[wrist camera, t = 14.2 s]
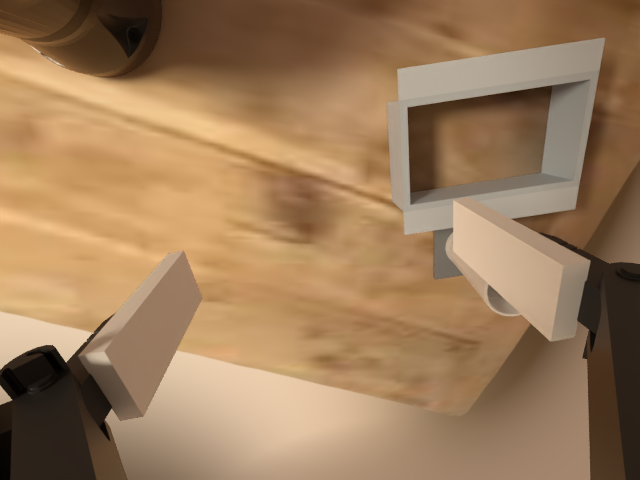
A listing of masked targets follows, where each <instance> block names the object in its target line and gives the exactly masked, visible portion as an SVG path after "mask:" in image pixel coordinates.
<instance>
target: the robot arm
mask: <svg viewBox="0 0 640 480" xmlns="http://www.w3.org/2000/svg"><path fill="white" fill-rule="evenodd" d="M160 25H161V1H160V0H0V33H2V34H6V35H10V36H14V37H17V38H20V39H21V40H23V41H24V42H26V43H27V44H29V45H30V46H31V47H32V48H34V49H35V50H36V51H37V52H39V53H40V54H41V55H43V56H44V57H46V58H47V59H49V60H50V61H52V62H54V63H56V64H58V65H59V66H62V67H64V68H66V69H69V70H72V71H75V72H78V73H83V74H88V75H93V76H99V77H112V76H118V75H122V74H125V73H128V72H130V71H132V70H134V69H135V68H137V67H138V66H139V65H141V64H142V63H143V62H144V61H145V60H146V59H147V57H148V56H149V55H150V53H151V52H152V50H153V48H154V46H155V44H156V41H157V38H158V35H159V31H160ZM453 251H454V252H455V253H456V254H457V255H458V256H459V257H460V258H461V259H462V260H463V261H464V262H465V263H467V264H468V265H469V266H470V267H471V268H472V269H473V270H474V271H475V272H476V273H477V274H478V275H479V276H481V277H482V278H483V279H484V280H485V281H486V282H487V283H488V284H489V285H490V286H491V287H492V288H493V289H495V290H496V291H497V292H498V293H499V294H500V295H501V296H502V297H503V298H504V299H505V300H506V301H507V302H509V303H510V304H511V305H512V306H513V307H514V308H515V309H516V310H517V311H518V312H519V313H520V314H521V315H523V316H524V317H525V318H526V319H527V320H528V321H529V322H530V323H531V324H532V325H533V326H534V327H535V328H537V329H538V330H539V331H540V332H541V333H542V334H543V335H544V336H545V337H546V338H547V339H548V340H550V341H557V340H562V339H568V338H573V337H575V333H576V328H577V324H578V321H579V322H580V323H581V324H583V325H584V326H585V327H587V328H588V329H589V332H588V336H587V340H586V345H585V349H584V353H583V358H585V359H587V363H588V400H589V438H590V476H591V480H640V264H635V263H623V262H620V263H611V264H609V263H607V262H605V261H603V260H601V259H599V258H596V257H595V256H593V255H591V254H589V253H587V252H585V251H583V250H581V249H577V247H575V246H573V245H571V244H568V243H567V242H565V241H563V240H561V239H559V238H557V237H555V236H551V235H547V234H544V233H537V232H535V231H533V230H531V229H529V228H527V227H525V226H523V225H521V224H520V223H518V222H516V221H514V220H512V219H510V218H508V217H506V216H504V215H502V214H501V213H499V212H497V211H495V210H493V209H491V208H489V207H487V206H485V205H483V204H482V203H480V202H478V201H476V200H474V199H472V198H470V197H466V198H461V199H456V200H453ZM201 300H202V295H201V293H200V290H199V288H198V285H197V283H196V280H195V278H194V275H193V273H192V270H191V268H190V265H189V263H188V260H187V258H186V255H185V253H184V251H179V252H174V253H168V254H167V255H166V257H165V258H164V259H163V260H162V261H161V262H160V263H159V265H158V266H157V267H156V268H155V269H154V270H153V271H152V272H151V274H150V275H149V276H148V277H147V278H146V279H145V280H144V282H143V283H142V284H141V285H140V286H139V287H138V288H137V289H136V291H135V292H134V293H133V294H132V295H131V296H130V297H129V299H128V300H127V301H126V302H125V303H124V304H123V305H122V307H121V308H120V309H119V310H118V311H117V312H116V313H115V314H113V315H112V316H111V317H109V318H108V319H107V320H105V321H104V322H103V323H102V324H101V325H100V326H99V327H98V328H97V329H96V330H95V331H94V334H92V335H91V336H90V337H89V338H88V339H87V342H85V343H84V344H83V345H82V346H81V347H80V348H79V349H78V350H77V351H76V353H75V354H74V355H73V356H72V357H71V358H70V359H69V360H68V361H67V362H65V361H64V359H63V358H62V357H61V356H60V354H59V352H58V351H57V349H56V348H55V347H54V346H53V345H45V346H41V347H37V348H35V349H32V350H30V351H27V352H25V353H23V354H22V355H20V356H18V357H16V358H15V359H13V360H12V361H10V362H9V363H8V364H6V365H5V366H4V367H3V368H2V369H1V370H0V385H1V387H2V388H3V389H4V390H5V391H6V393H7V394H8V395H9V396H10V397H11V399H12V401H10V402H7V403H5V404H2V405H0V480H127V477H126V474H125V471H124V468H123V465H122V462H121V459H120V457H119V453H118V450H117V447H116V444H115V441H114V438H113V435H112V433H111V429H110V427H109V425H108V424H107V422H106V421H105V418H106V416H107V415H108V413H109V412H110V410H111V408H112V409H113V411H114V412H115V414H116V415H117V417H118V418H119V420H120V421H122V420H127V419H132V418H138V417H143V416H144V415H145V413H146V410H147V408H148V406H149V404H150V402H151V400H152V398H153V396H154V394H155V392H156V390H157V388H158V386H159V384H160V382H161V380H162V378H163V376H164V374H165V372H166V370H167V368H168V366H169V364H170V362H171V360H172V358H173V356H174V354H175V352H176V350H177V348H178V346H179V344H180V342H181V340H182V338H183V336H184V334H185V332H186V330H187V328H188V326H189V324H190V322H191V320H192V318H193V316H194V314H195V312H196V310H197V308H198V306H199V304H200V302H201Z"/></svg>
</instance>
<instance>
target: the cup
mask: <svg viewBox="0 0 640 480" xmlns="http://www.w3.org/2000/svg"><path fill="white" fill-rule="evenodd" d="M446 254H447V256H448V258H449V259H450V260H451V261H452V262H453V263H454V264H455V265H456V266H457V268H458V269H459V270H460V271H461V273H462V274H463V275H464V276H465V277H466V279H467V280H468V281H469V282H470V284H471V285H472V286H473V287H474V288H475V290H476V291H477V292H478V293H479V295H480V296H481V297H482V299H483V300H484V301H485V302H486V304H487V305H488V306H489V307H490V309H491V310H493V311H494V312H496V313H498V314H500V315H504V316H519V315H521V314H520V313H519V312H518V311H517V310H516V309H515V308H514V307H513V306H512V305H511V304H510V303H509V302H507V301H506V300H505V299H504V298H503V297H502V296H501V295H500V294H499V293H498V292H497V291H496V290H495V289H493V288H492V287H491V286H490V285H489V284H488V283H487V282H486V281H485V280H484V279H483V278H482V277H481V276H479V275H478V274H477V273H476V272H475V271H474V270H473V269H472V268H471V267H470V266H469V265H468V264H467V263H465V262H464V261H463V260H462V259H461V258H460V257H459V256H458V255H457V254H456V253H455V252H454V251H453V233H452V234H451V235H450V236H449V238H448V240H447V242H446Z"/></svg>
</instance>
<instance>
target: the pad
mask: <svg viewBox="0 0 640 480" xmlns="http://www.w3.org/2000/svg"><path fill="white" fill-rule="evenodd" d="M452 233H453V228H447V229H441V230H434V231H433V250H434V279H441V278H448V277H455V276H461V275H463V274H462V273H461V271H460V270H459V269H458V268H457V266H456V265H455V264H454V263H453V262H452V261H451V260H450V259H449V258H448V256H447V254H446V242H447V240H448V238H449V236H450V235H451V234H452Z"/></svg>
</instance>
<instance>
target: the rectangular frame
mask: <svg viewBox="0 0 640 480" xmlns="http://www.w3.org/2000/svg"><path fill="white" fill-rule="evenodd" d="M604 42H605V37H604V38H597V39H591V40H584V41H578V42H571V43H565V44H558V45H552V46H545V47H539V48H532V49H526V50H519V51H512V52H506V53H499V54H493V55H486V56H480V57H473V58H467V59H460V60H454V61H447V62H441V63H434V64H427V65H421V66H414V67H408V68H401V69H397V74H398V98H399V101H394V102H388V103H387V118H388V136H389V154H390V173H391V191H392V201H393V202H394V203H395V204H396V205H397V206H398V207H399V208H400V209H401V210H402V211H403V220H404V234H405V235H407V234H414V233H421V232H427V231H434V230H441V229H447V228H453V200H456V199H461V198H466V197H470V198H472V199H474V200H476V201H478V202H480V203H482V204H483V205H485V206H487V207H489V208H491V209H493V210H495V211H497V212H499V213H501V214H502V215H504V216H506V217H508V218H510V219H513V218H520V217H527V216H533V215H540V214H547V213H553V212H560V211H567V210H573V209H575V206H576V201H577V195H578V189H579V184H580V178H581V172H582V167H583V161H584V156H585V150H586V144H587V139H588V133H589V127H590V122H591V116H592V110H593V105H594V99H595V93H596V88H597V82H598V76H599V71H600V65H601V59H602V54H603V48H604ZM551 85H552V92H551V99H550V107H549V115H548V123H547V131H546V138H545V146H544V154H543V162H542V170H541V173H536V174H530V175H523V176H516V177H510V178H503V179H497V180H490V181H483V182H477V183H470V184H464V185H457V186H450V187H444V188H437V189H430V190H424V191H417V192H411V193H410V176H409V144H408V113H407V107H413V106H419V105H426V104H433V103H439V102H446V101H452V100H459V99H465V98H472V97H478V96H485V95H492V94H498V93H505V92H511V91H518V90H524V89H531V88H537V87H544V86H551Z"/></svg>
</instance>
